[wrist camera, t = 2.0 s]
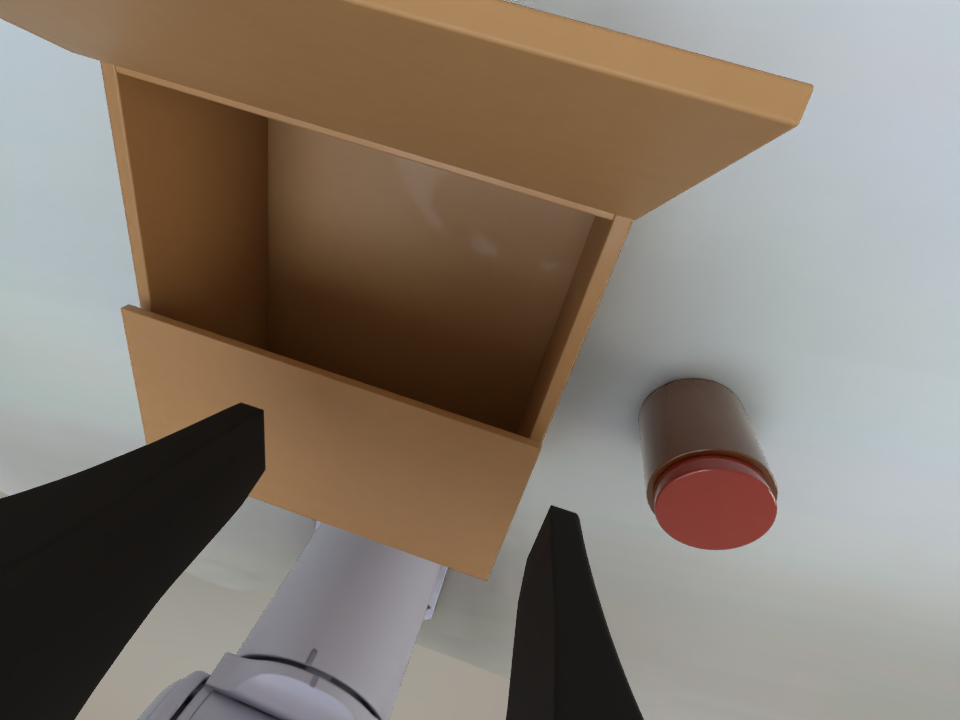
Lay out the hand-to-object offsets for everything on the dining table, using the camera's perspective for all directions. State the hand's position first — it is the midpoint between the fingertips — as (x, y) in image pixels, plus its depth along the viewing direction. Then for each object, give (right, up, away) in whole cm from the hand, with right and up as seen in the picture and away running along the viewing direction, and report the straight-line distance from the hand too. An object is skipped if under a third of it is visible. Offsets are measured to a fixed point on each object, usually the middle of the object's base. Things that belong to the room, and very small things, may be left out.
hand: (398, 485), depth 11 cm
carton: (-1, +6, +8) cm, 10 cm away
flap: (-1, +7, -5) cm, 9 cm away
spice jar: (+11, +1, +8) cm, 13 cm away
